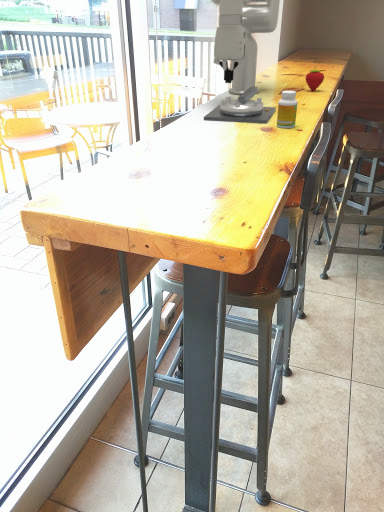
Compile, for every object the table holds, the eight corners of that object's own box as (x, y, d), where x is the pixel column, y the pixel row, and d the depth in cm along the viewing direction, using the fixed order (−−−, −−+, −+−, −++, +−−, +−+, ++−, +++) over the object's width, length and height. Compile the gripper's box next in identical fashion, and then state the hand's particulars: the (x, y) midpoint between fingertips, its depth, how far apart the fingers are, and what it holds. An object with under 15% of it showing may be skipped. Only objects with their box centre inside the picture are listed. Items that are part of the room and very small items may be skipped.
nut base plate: (219, 107, 146) (219, 103, 146) (275, 110, 141) (275, 106, 140) (203, 120, 130) (203, 115, 129) (266, 123, 125) (266, 119, 124)
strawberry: (322, 92, 169) (325, 66, 164) (303, 92, 171) (306, 66, 166) (322, 90, 174) (326, 64, 169) (304, 89, 176) (307, 64, 171)
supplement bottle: (295, 128, 119) (299, 93, 114) (276, 128, 120) (279, 93, 115) (294, 124, 123) (298, 90, 118) (276, 124, 124) (279, 89, 119)
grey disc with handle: (235, 98, 155) (235, 86, 153) (272, 100, 151) (273, 87, 149) (215, 114, 131) (215, 100, 129) (258, 116, 127) (259, 102, 125)
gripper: (255, 21, 134) (251, 82, 143) (211, 22, 138) (210, 81, 147) (251, 21, 127) (247, 84, 136) (205, 21, 131) (204, 83, 140)
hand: (228, 82), depth 142 cm, fingers closed
